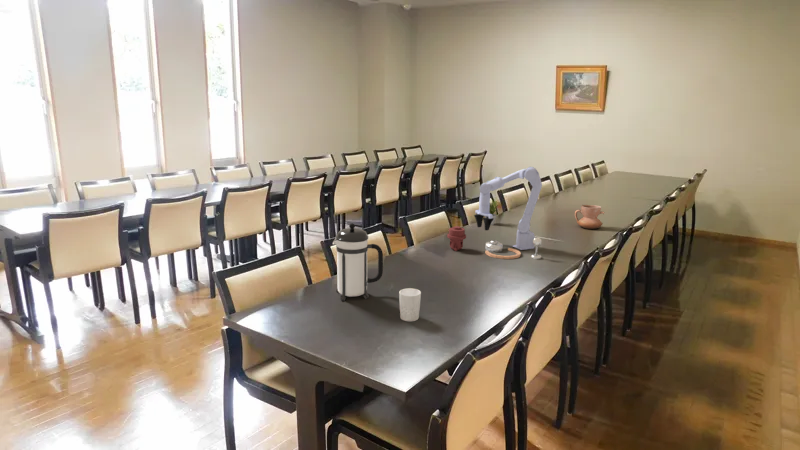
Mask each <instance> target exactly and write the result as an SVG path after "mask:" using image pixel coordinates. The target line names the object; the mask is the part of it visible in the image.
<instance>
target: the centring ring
mask: <svg viewBox="0 0 800 450" xmlns="http://www.w3.org/2000/svg"><path fill="white" fill-rule="evenodd" d="M507 251H509V252H512V253H515V254H513V255H498V254H495V253H493V252H490V251H487V250H485V252H484V253H485V255H486V256H489V257H491V258H494V259H500V260H501V259H502V260H513V259H517V258H520V257H521V254H522V253H521V250H519V249H517V248H512V247H507Z"/></svg>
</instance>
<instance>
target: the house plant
mask: <svg viewBox="0 0 800 450" xmlns="http://www.w3.org/2000/svg"><path fill="white" fill-rule="evenodd" d="M498 202H499V201H498V200H492V201H491V202H490V208H489V213H490V214H492V215H493V218H494V219H493V221H492V223H491V225H490V226H493V225H495V222H496V219H497V214H496V212H497V211H498V209H497V207H498V206H499V203H498Z"/></svg>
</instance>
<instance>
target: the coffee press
mask: <svg viewBox="0 0 800 450" xmlns="http://www.w3.org/2000/svg"><path fill="white" fill-rule="evenodd" d="M368 240H369V235H368V234H367V231H366V230H363V229H361V228H356V226H355V223H351V222H350V224H349V226H348V227H347V228H343V229H340V230H339V231H338V232H337V234H336V235H335V238H334V240H333V241H332V245H335V246H336V247H335V248H336V249H335V250H336V261H337V262H336V265H337V266H336V272H337V275H336V276H337V285H336V286H337V289H336V291H335V292H336V293H337V294H340V295H341V296H340V297H341V298H340V301H341V302H345V301H346V300H347V298H348V297H359V296H361V297H363V298H364V299H365V300H367V299H368V298H369V297H370V295H369V294H368V284H370V283H375V282H378V281H380V279H381V278H382V276H383V272H384V271H383V270H384V256H383V255H384V253H383V250H382V248H381V246H379V245H378V244H375V243H371V244H368ZM369 249H373V250H376V251H377V254H378V255H377V258H378V259H377V262H378V263H377V274H376V276H374V277H370V278H368V250H369Z"/></svg>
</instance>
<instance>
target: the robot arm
mask: <svg viewBox="0 0 800 450" xmlns="http://www.w3.org/2000/svg"><path fill="white" fill-rule="evenodd" d="M517 179H522V180H524V179H526V180H527V181H528V182H529V184H530V185H531V186H532V188H531V190H530V195H529V196H528V200H527V202H526V206H525V209H524V212H523V215H522V217H521V219H520V220H519V221H518V225H517V230H516V241H515V244H514V245H512V247H514V249H516V250H519V251H523V250H532V249H536V246H535V245H534V244H533V239H534V238H536V236H535V233H534V232H533V231H531V230H530V227H531V220H532V217H533V214H534V212H535V211H534V210H535V207H536V205H537V202H538V200H539V195H540V193H541V191H542V188H543V183H542V180H541V176H540V173H539V171H538V170H537V168H536V167H534V166H528V167H527V168H526V167H525V168H522V169H519V170H517V171H514V172H512V173H510V174H508V175H506V176H504V177H501V176H494V178H493V179H491V180H487V181H486V182H483V183H481V184H480V186H479V192H480V193H479V199H478V200H479V203H478V209H475V214H474V215H473V216H474V218H475V219H474V220H475V221H476V226H477V228H481V227H482V225H483V222H484V231H489V230H490V228H491V226H492V225H491V223H492V221H493V219H494V218H493V215H492V214H490V213H489V208H490V203H491V191H492V192H493V191H496V190H499V189H501V188H503V187H504V186H505V184H507V183H509V182H512V181H514V180H517Z"/></svg>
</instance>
